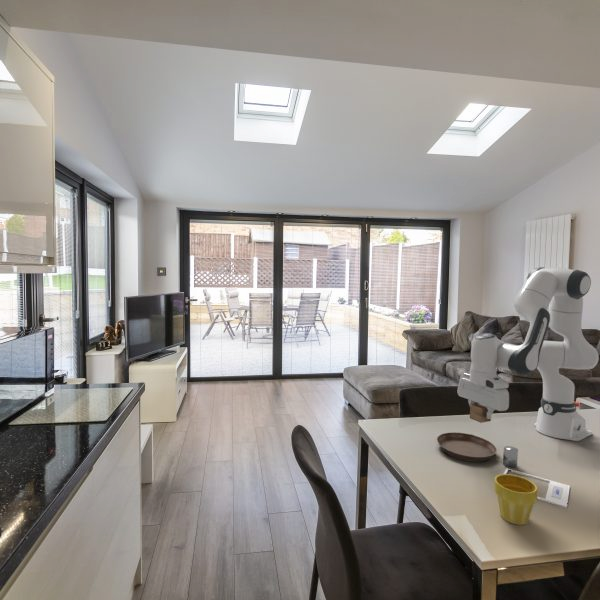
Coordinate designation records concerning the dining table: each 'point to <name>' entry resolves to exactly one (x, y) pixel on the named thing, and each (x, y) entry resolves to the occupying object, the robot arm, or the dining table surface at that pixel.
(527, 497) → the plant pot
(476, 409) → the walnut block
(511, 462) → the grey metal peg
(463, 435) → the plant saucer
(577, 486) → the dining table surface
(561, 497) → the photo frame
